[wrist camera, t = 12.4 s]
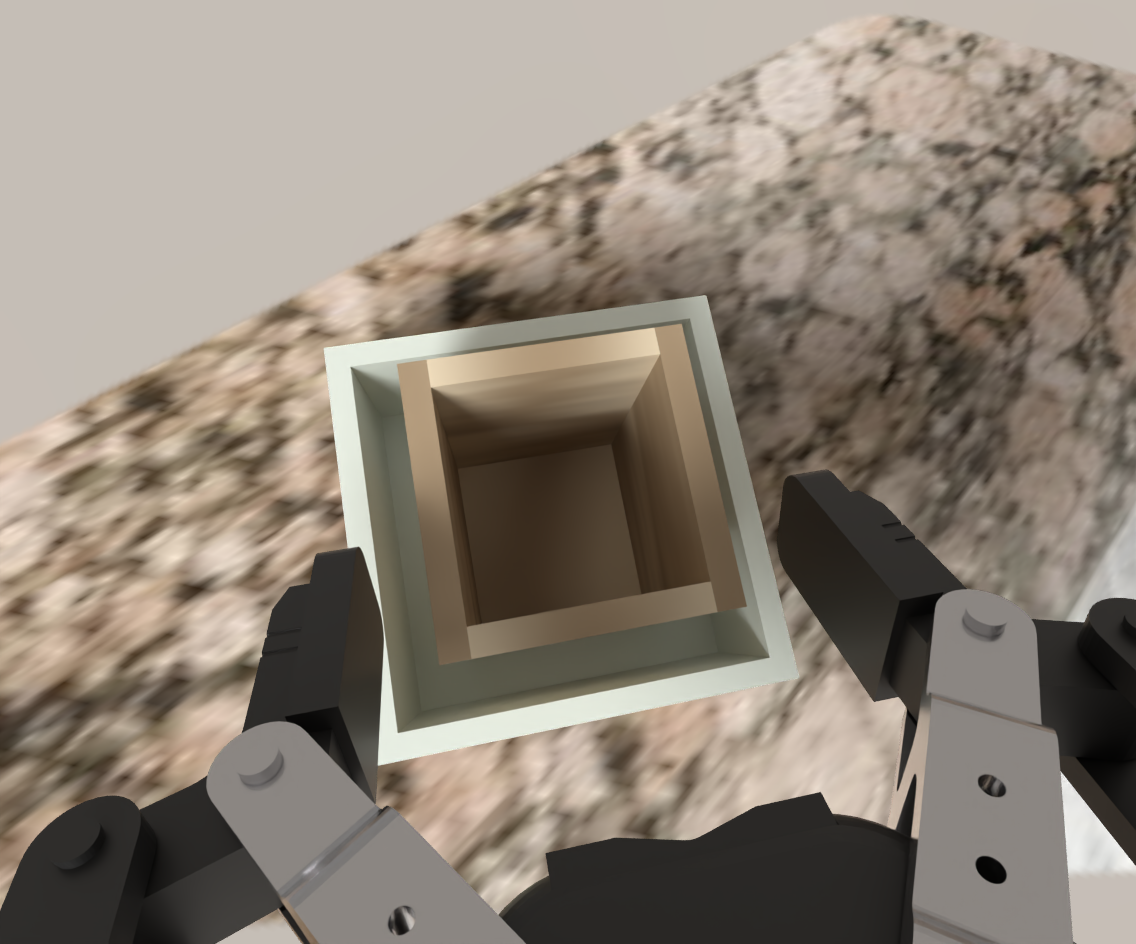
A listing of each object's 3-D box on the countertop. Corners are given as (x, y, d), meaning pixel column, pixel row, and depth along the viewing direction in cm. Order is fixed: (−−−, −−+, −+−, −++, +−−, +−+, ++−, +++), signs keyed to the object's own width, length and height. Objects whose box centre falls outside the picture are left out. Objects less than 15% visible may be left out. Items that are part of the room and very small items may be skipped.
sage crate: (666, 363, 24) (706, 295, 19) (735, 667, 22) (799, 678, 17) (363, 408, 23) (323, 348, 18) (406, 734, 21) (374, 766, 16)
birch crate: (623, 428, 23) (681, 323, 15) (661, 614, 22) (747, 606, 14) (437, 457, 22) (396, 363, 14) (466, 651, 21) (439, 665, 13)
